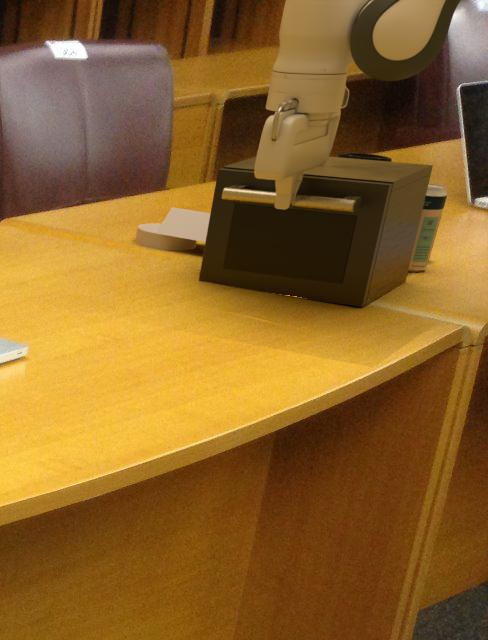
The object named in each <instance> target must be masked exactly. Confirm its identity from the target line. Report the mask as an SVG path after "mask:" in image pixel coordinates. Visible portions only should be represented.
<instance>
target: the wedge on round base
mask: <svg viewBox="0 0 488 640" xmlns="http://www.w3.org/2000/svg"><path fill="white" fill-rule="evenodd" d="M210 214H211V212H205V211H198V210H193V209H186V208H180V207H174V206H172V207H171V208H170V210H169V212H168V213H167V215H166V216H165V218H164V219H163V220H162V222H159V223H157V222H153V223H152V222H151V223H149V222H148V223H142V224H139V225H137V228H136V234H135V240H134V242H135V244H137V245H138V246H140V247H146V248H149V249H155V250H162V251H189V250H194V249H195V248H196V246H197V242H201V243H205V242H206V236H207V231H208V225H209V219H210Z"/></svg>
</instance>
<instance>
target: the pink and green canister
mask: <svg viewBox="0 0 488 640" xmlns="http://www.w3.org/2000/svg"><path fill="white" fill-rule="evenodd" d="M447 198H448V192H447V187H446V186H445V185H440V184H435V183H429V184H428V188H427V193H426V197H425V201H424V206H423V210H422V214H421V218H420V223H419V227H418V231H417V235H416V240H415V244H414V248H413V252H412V257H411V261H410V265H409V270H408V273H420V272H422V271H424V270H426V269H427V268H428V265H429V261H430V258H431V255H432V251H433V247H434V244H435V240H436V237H437V233H438V229H439V226H440V222H441V219H442V216H443V212H444V208H445V204H446V201H447Z"/></svg>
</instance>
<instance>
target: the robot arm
mask: <svg viewBox="0 0 488 640" xmlns="http://www.w3.org/2000/svg"><path fill="white" fill-rule="evenodd" d="M461 1H462V0H285V1H284V2H285V3H284V7H283V11H282V16H281V21H280V26H279V31H278V39H279V50H278V54H277V57H276V60H275V61H274V64H273V66H272V71H271V76H270V79H269V87H268V92H267V98H266V103H265V109H266V110H267V111H271V112H274V114H271V115H270V116H268V117H267V118H266V120H265V122H264V125H263V128H262V131H261V135H260V139H259V142H258V143H259V144H258V149H257V153H256V156H257V157H256V156H255V157H256V161H255V167H254V173H255V177H256V178H258V179H267V180H275V186H276V200H275V205H274V206H275V208H276V209H283V210H285V209H288V208H290V207H293V205H294V202H295V197H296V193H297V191H298V189H299V186H300V184H301V182H302V179H303V174H304V171H307V170H310V169H312V168H315V167H318V166H321V165H323V164H325V163H326V161H327V159H328V157H330V155H331V152H332V150H333V146H334V143H335V139H336V136H337V132H338V128H339V123H340V120H341V114H342V110H341V109H344V108H346V107H347V105H348V102H349V98H350V90H349V88H348V87H347V78H348V74H349V69H350V66H351V65H353V64H355V65H356V67H357V68H358V69H359V70H360V71H361V72H362V73H363V74H365V75H366V76H368V77H370V78H371V79H374V80H378V81H382V82H397V81H401V80H405V79H409V78H411V77H414V76H415V75H418V74H419V73H421V72H422V71H424V70H426V69H427V68H428V67H429V66H430V65H431V64H432V63H433V62H434V61H435V59H436V58H437V56H438V55H439V54H440V52H441V50H442V49H443V47H444V44H445V42H446V39H447V37H448V33H449V30H450V26H451V23H452V20H453V16H454V14H455V12H456V10H457V7H458V6H459V4H460V3H461Z"/></svg>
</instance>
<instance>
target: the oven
mask: <svg viewBox="0 0 488 640" xmlns="http://www.w3.org/2000/svg"><path fill="white" fill-rule="evenodd" d="M256 157H257V155H256V156H253V157H249V158H247V159H246V158H245V159H243V160H240V161H238V162H237V161H236V162H234V163H231V164H228V165H225V166H222V168H227V169H238V170H249V171H254V167H255V161H256ZM433 166H434V165H433V164H424V163H411V162H399V161H391V162H388V161H376V160H364V159H352V158H340V157H338V156H329V157H328V159H327V161H326V163H325V164H323V165H321V166H318V167H315V168H312V169H310V170H307V171H304V174H303V175H304V176H315V177H326V178H337V179H348V180H359V181H369V182H380V183H391V184H393V185H392V189H391V194H390V198H389V202H388V207H387V211H386V216H385V220H384V225H383V229H382V233H381V238H380V242H379V247H378V251H377V256H376V260H375V265H374V269H373V273H372V278H371V282H370V287H369V291H368V296H367V300H366V304H365V305H364V306H367V305H369V304H372V302H374V301H376V300H377V299H379V298H380V297H383V296H384V295H387V294H388V293H389V292H391V291H393V290H394V289H395V288H397V287H399V286H401V285H403V284H404V283H406V282H407V278H408V273H409V272H408V270H409V265H410V261H411V257H412V252H413V248H414V244H415V240H416V235H417V231H418V227H419V223H420V218H421V214H422V210H423V206H424V201H425V197H426V193H427V188H428V184H430V179H431V176H432V175H431V174H432V171H433ZM364 306H363V307H364Z"/></svg>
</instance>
